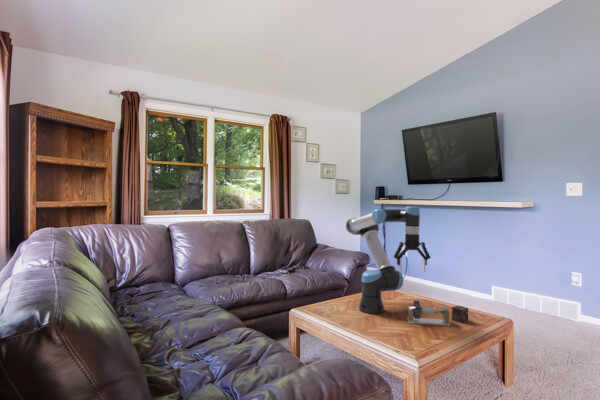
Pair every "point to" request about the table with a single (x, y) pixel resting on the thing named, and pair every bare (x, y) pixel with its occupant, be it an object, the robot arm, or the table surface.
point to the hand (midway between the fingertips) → (411, 271)
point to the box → (460, 314)
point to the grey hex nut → (417, 309)
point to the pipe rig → (426, 320)
